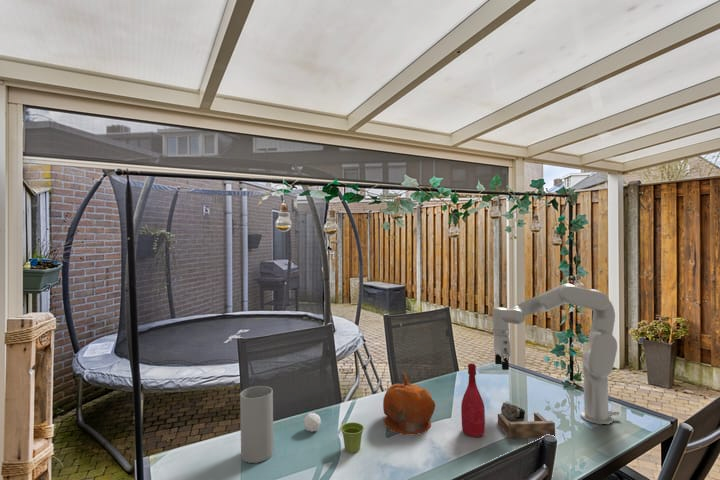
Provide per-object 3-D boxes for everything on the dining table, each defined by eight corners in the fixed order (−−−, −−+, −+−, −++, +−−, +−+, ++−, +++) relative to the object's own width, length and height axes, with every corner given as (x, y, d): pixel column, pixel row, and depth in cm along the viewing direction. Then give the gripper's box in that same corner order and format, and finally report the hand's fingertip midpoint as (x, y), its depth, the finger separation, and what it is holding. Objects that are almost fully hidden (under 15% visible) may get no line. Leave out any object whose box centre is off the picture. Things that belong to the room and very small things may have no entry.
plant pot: (351, 440, 156) (351, 420, 157) (368, 447, 150) (368, 426, 151) (336, 450, 149) (335, 428, 149) (354, 458, 143) (353, 436, 143)
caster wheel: (521, 417, 179) (526, 424, 170) (497, 411, 182) (500, 417, 172) (523, 403, 180) (528, 409, 170) (499, 397, 183) (503, 402, 173)
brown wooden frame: (538, 421, 170) (538, 408, 170) (555, 437, 156) (554, 422, 156) (497, 422, 170) (497, 409, 170) (510, 438, 156) (510, 424, 156)
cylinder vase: (235, 455, 147) (234, 392, 147) (263, 443, 156) (262, 383, 156) (250, 468, 138) (249, 401, 138) (279, 454, 147) (278, 391, 147)
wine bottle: (469, 439, 155) (468, 368, 156) (457, 428, 165) (456, 361, 165) (489, 436, 158) (488, 366, 158) (476, 425, 167) (475, 359, 168)
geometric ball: (308, 436, 166) (301, 418, 169) (324, 427, 168) (316, 410, 172) (307, 435, 159) (299, 417, 163) (324, 426, 162) (316, 408, 165)
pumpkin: (395, 407, 188) (394, 363, 188) (442, 419, 174) (441, 371, 174) (372, 425, 169) (371, 376, 169) (423, 440, 155) (422, 387, 156)
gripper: (516, 336, 179) (516, 372, 178) (501, 328, 196) (502, 361, 196) (500, 336, 178) (501, 372, 178) (487, 328, 196) (488, 361, 196)
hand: (501, 366), depth 187 cm, fingers open, 7 cm apart
